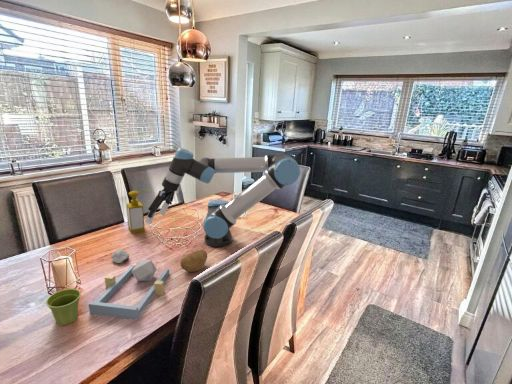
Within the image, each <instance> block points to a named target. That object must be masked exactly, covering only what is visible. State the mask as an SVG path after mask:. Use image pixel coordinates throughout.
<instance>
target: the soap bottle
mask: <svg viewBox="0 0 512 384" xmlns="http://www.w3.org/2000/svg"><path fill="white" fill-rule="evenodd" d="M139 193H140V194H141V193H151V191H148V190H145V191H142V190H141V191H137V190H131V191H129V192H128V195H129V197H131V198H132V199H130V202H129V203H126V214H127V225H128V230H129V232H130V234H131V235H133V234H137V233H138V234H139V233H141V232H142V233H144V232H145V231H146V230H145V216H144V205H143V204H142V203H141V201H139V200H138V199H136V197H138V195H140V194H139Z"/></svg>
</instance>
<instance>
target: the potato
mask: <svg viewBox="0 0 512 384" xmlns="http://www.w3.org/2000/svg"><path fill="white" fill-rule="evenodd" d="M207 259H208V253H207V252H206V250H203V249H198V250H195V251H192V252H189V253H188V254H185V255H184V256H183V257H182V258H180V267H181V269H183V270H184V271H185V272H188V273H193V272H197V271H199V270H202V269H203V268H204V267H205V264H206V262H207Z"/></svg>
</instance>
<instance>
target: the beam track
mask: <svg viewBox="0 0 512 384" xmlns="http://www.w3.org/2000/svg"><path fill="white" fill-rule="evenodd" d="M135 265H136V264H131V265H130V266H129V267H128V268H126V270H125V271H124V272H123V273H122V274H121V275H120V276H119V277H118V278H116V275H113V274H112V275H111V274H107V275H106V276H105V277H104V283H105V289H106V290H105V291H104V292H103V293H101V295H100V296H99V297H98V298H97V299H96V300H95V301H93V300H91V301H90V302H89V303H88V309H89V314H91V315H96V316H98V315H99V316H106V317H113V318H122V319H127V320H128V319H130V320H138V319H139V317H140V315H141V314H142V313H143V311H144V310H145V309H146V307H147V305H148V304H149V303H150V302H151V300H152V299H153V298H154V296H155V295H156V296H163V294H164V293H165V283H164V282H165V280H166V279H167V278H168V277H169V275H170V269H169V268H165V269H164V270H163V272H162V273H161V274H160V275H159V277H158V278H157V279H156V280H155V281H154V282H153V285H152V286H151V287H150V289H148V291H147V292H146V294H145V295H144V296H143V297H142V299H141V300H140V301H139V303H138V305H137V306H133V305H125V304H118V303H110V302H107V301H108V300H109V299H110V298H111V297H112V296H113V295H114V294H115V293H116V292H117V290H118V289H119V288H120V287H121V286H122V285H123V284H124V283H126V281H127V280H128V279H129V278H130V277H131V275H133V273H132V272H131V271H132V270H133V268H134V267H135Z"/></svg>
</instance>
